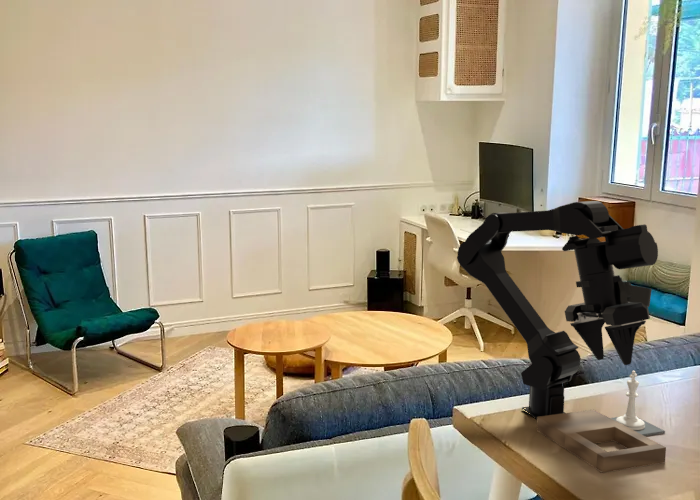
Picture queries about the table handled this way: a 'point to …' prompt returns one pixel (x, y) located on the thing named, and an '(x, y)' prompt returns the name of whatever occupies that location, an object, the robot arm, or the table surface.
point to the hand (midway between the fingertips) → (613, 362)
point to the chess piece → (631, 407)
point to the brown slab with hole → (600, 440)
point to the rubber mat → (647, 429)
